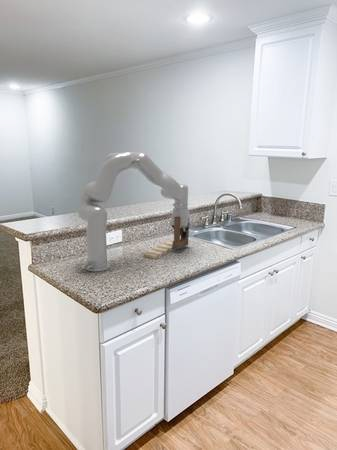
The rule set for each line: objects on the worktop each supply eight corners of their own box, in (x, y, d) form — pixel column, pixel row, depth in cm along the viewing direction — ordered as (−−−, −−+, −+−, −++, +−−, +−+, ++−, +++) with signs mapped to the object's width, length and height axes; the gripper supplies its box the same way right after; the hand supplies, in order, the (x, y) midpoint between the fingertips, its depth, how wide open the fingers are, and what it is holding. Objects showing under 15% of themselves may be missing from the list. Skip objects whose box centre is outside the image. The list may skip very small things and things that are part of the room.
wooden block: (188, 244, 206) (189, 215, 202) (176, 248, 198) (177, 217, 194) (183, 243, 208) (184, 214, 204) (172, 247, 200) (172, 217, 196)
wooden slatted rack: (156, 259, 185) (156, 256, 184) (143, 257, 188) (143, 253, 188) (180, 245, 211) (180, 242, 210) (168, 244, 214) (168, 240, 214)
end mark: (179, 253, 196) (179, 252, 196) (170, 251, 198) (170, 251, 198) (189, 247, 208) (189, 246, 208) (181, 245, 210) (181, 245, 210)
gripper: (165, 206, 198) (164, 236, 202) (191, 208, 190) (191, 240, 194) (171, 204, 204) (170, 233, 208) (197, 206, 197) (196, 237, 201)
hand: (180, 236), depth 201 cm, fingers closed on wooden block, 4 cm apart
